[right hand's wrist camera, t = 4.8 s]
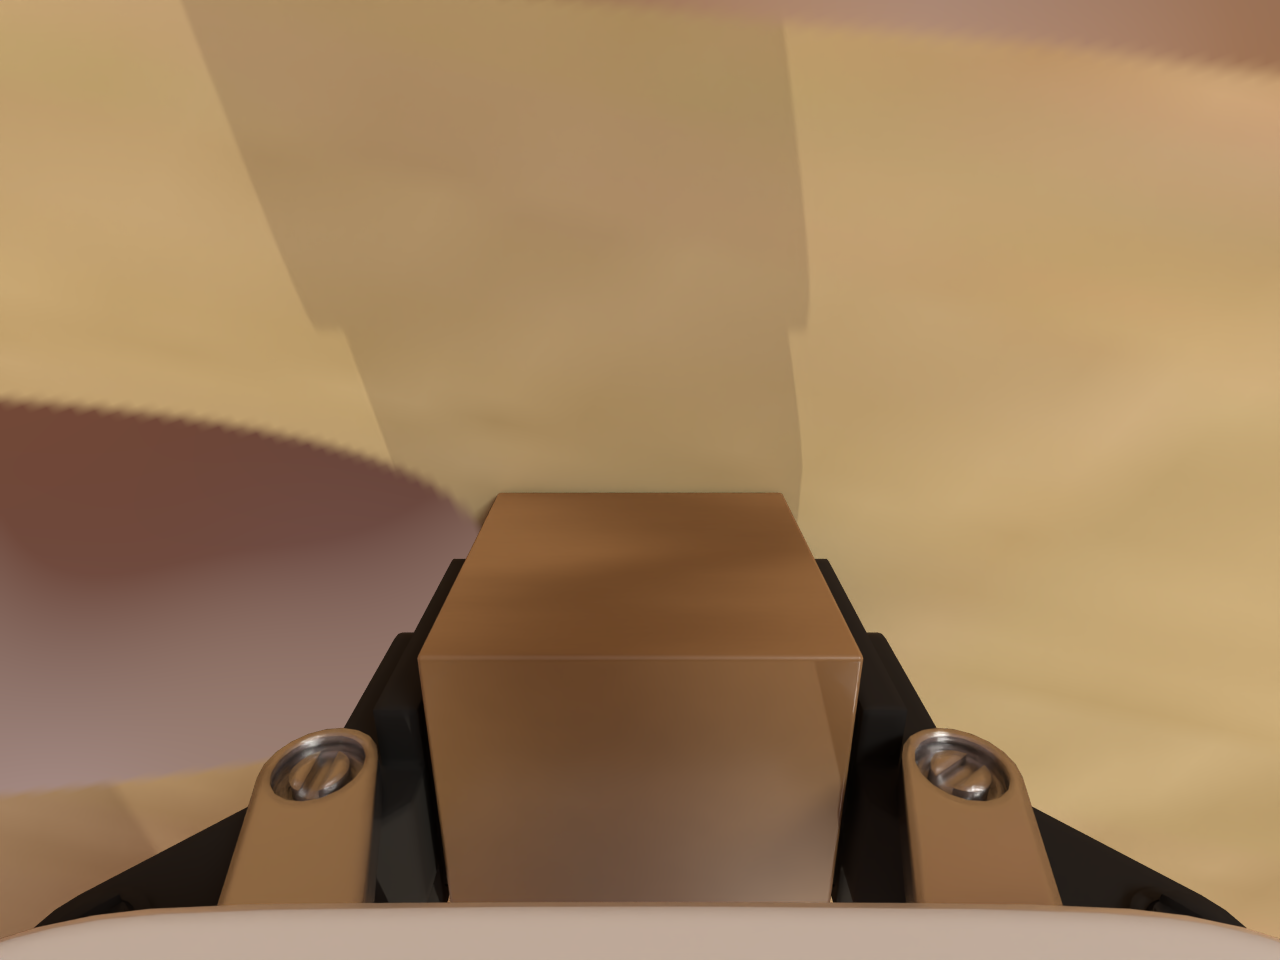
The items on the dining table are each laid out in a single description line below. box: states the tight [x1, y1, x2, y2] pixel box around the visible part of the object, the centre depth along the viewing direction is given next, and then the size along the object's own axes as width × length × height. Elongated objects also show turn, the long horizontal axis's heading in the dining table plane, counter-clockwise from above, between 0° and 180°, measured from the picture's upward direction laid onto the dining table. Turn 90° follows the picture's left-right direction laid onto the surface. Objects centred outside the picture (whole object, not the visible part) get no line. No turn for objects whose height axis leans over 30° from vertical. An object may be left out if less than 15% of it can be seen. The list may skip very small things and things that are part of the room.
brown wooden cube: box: [417, 493, 863, 903], centre depth 10 cm, size 5×5×5 cm
